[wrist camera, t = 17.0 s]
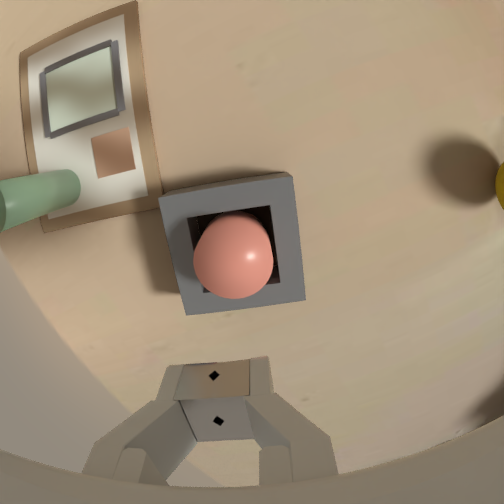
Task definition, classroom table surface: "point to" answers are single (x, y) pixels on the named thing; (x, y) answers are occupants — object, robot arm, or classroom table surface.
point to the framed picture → (92, 116)
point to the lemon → (500, 185)
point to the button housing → (227, 199)
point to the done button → (234, 255)
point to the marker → (36, 196)
